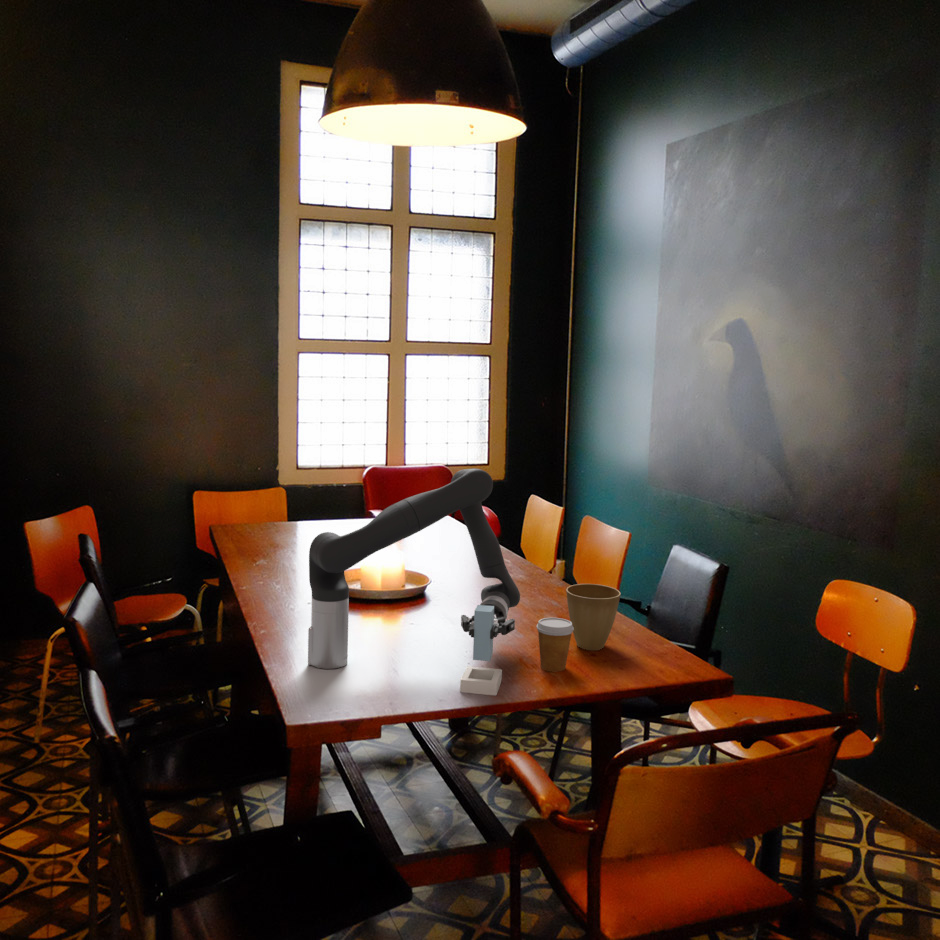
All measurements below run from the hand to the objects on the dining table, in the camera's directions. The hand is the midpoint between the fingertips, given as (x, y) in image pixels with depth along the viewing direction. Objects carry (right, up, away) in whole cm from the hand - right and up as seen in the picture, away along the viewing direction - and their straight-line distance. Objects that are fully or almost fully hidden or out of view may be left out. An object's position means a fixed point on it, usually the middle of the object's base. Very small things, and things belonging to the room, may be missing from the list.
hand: (482, 634), depth 205 cm
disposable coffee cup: (+18, -12, +19) cm, 30 cm away
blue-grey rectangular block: (0, -6, +4) cm, 7 cm away
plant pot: (+31, -11, +38) cm, 50 cm away
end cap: (0, -13, +4) cm, 14 cm away
